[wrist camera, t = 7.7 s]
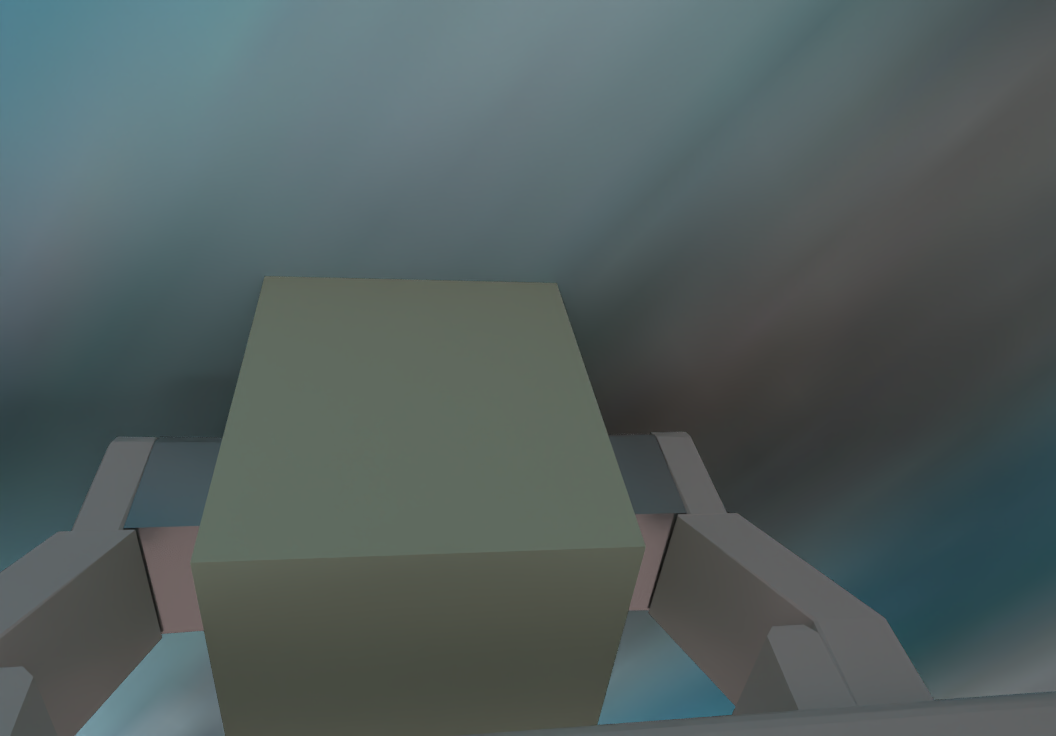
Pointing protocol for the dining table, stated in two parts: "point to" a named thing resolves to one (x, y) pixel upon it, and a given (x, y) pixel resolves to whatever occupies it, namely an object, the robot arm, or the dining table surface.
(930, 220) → the dining table surface
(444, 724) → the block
